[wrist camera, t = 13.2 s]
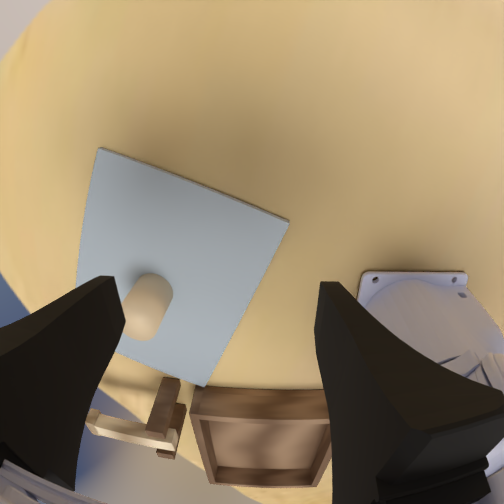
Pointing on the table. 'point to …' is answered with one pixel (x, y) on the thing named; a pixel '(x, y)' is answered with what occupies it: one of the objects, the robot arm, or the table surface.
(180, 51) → the table surface
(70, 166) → the table surface
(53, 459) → the robot arm
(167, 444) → the bar
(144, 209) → the lid
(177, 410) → the wooden tray
